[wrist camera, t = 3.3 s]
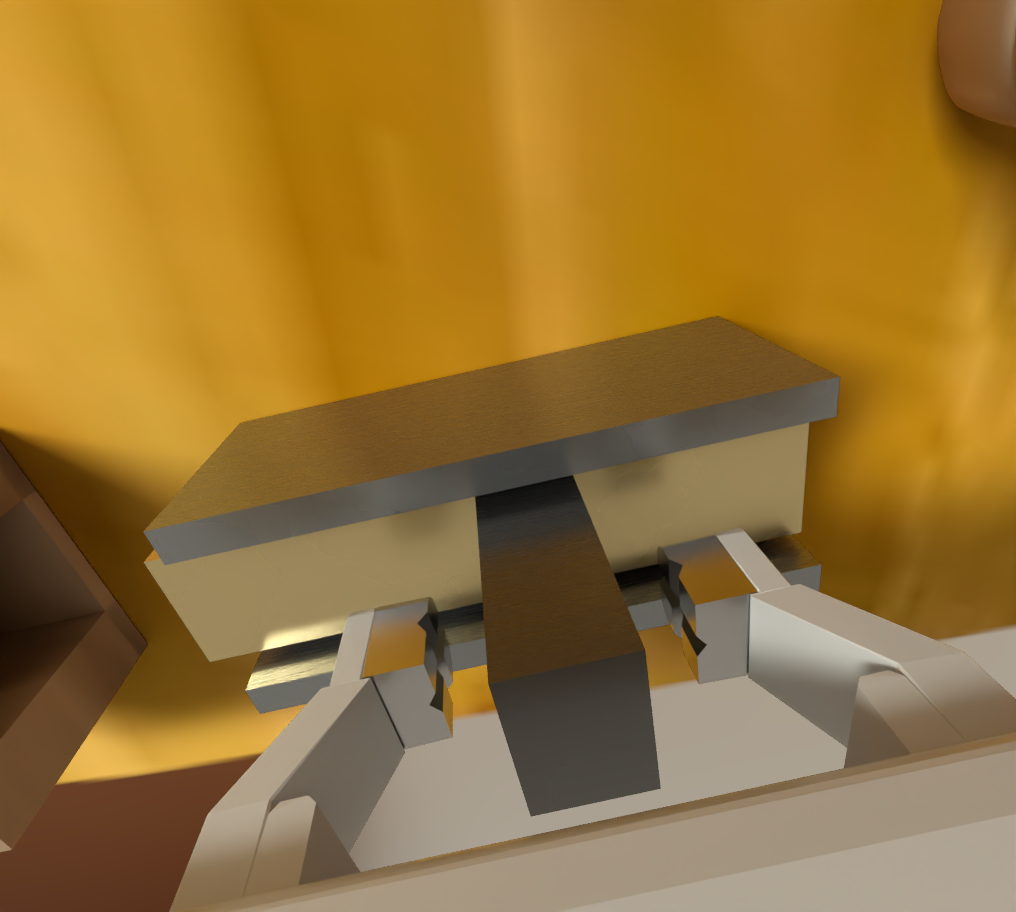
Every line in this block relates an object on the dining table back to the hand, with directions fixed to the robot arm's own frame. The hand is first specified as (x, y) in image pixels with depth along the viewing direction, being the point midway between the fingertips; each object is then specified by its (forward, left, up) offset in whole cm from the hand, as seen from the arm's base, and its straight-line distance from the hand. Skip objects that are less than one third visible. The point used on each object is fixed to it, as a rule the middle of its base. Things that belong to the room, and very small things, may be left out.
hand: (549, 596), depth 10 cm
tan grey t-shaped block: (+1, 0, -5) cm, 5 cm away
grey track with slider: (+1, 0, -6) cm, 6 cm away
